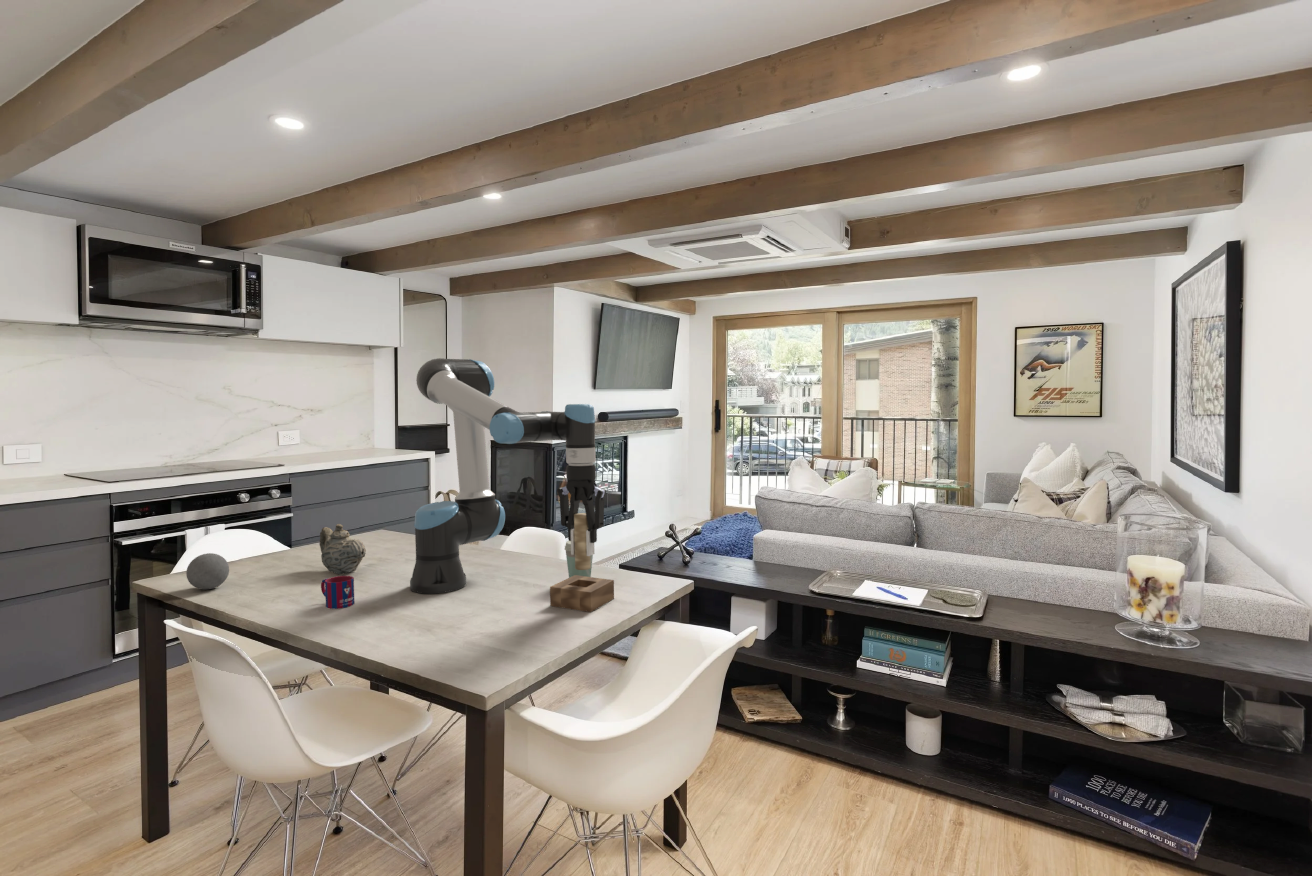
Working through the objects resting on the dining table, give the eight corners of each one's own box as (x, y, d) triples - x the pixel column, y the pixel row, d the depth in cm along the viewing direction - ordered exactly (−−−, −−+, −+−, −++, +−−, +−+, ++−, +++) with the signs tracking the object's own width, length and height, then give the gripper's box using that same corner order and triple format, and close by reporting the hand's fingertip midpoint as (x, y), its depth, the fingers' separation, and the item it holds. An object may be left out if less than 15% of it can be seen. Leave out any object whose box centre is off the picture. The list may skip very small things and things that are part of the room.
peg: (572, 569, 170) (571, 515, 169) (580, 565, 174) (579, 512, 173) (585, 570, 169) (584, 516, 168) (593, 566, 172) (592, 513, 171)
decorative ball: (209, 583, 192) (207, 549, 192) (238, 584, 190) (237, 550, 190) (178, 593, 182) (176, 557, 182) (208, 595, 180) (206, 558, 180)
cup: (335, 610, 166) (334, 584, 166) (313, 604, 172) (312, 578, 171) (359, 603, 172) (359, 577, 172) (337, 597, 177) (336, 572, 177)
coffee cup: (589, 588, 185) (589, 545, 184) (560, 586, 186) (560, 544, 186) (598, 579, 193) (598, 539, 192) (570, 578, 195) (570, 538, 194)
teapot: (379, 572, 203) (377, 523, 202) (344, 581, 193) (342, 530, 192) (338, 563, 214) (336, 517, 213) (303, 571, 205) (301, 523, 204)
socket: (550, 605, 169) (549, 586, 169) (575, 593, 180) (575, 575, 180) (590, 612, 164) (590, 592, 164) (614, 598, 175) (613, 580, 175)
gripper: (544, 464, 170) (546, 554, 171) (602, 466, 163) (604, 560, 164) (560, 461, 177) (562, 548, 178) (617, 463, 170) (618, 553, 171)
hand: (582, 554), depth 171 cm, fingers closed on peg, 4 cm apart
